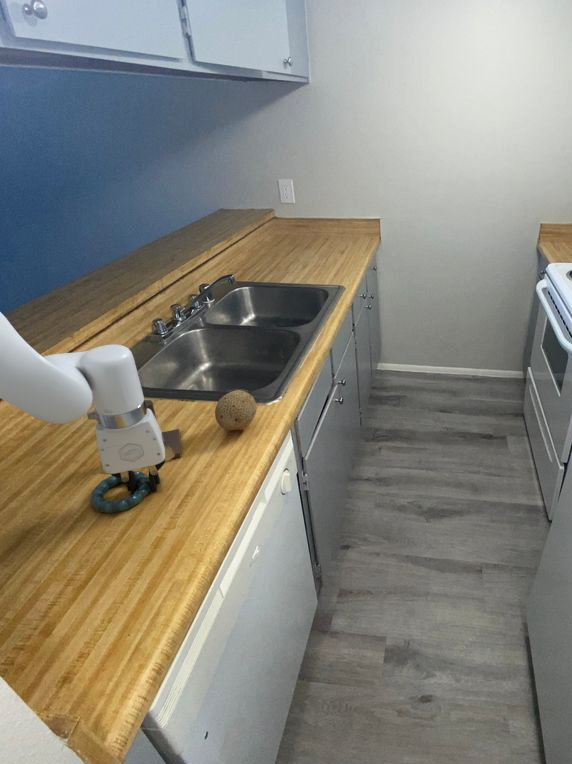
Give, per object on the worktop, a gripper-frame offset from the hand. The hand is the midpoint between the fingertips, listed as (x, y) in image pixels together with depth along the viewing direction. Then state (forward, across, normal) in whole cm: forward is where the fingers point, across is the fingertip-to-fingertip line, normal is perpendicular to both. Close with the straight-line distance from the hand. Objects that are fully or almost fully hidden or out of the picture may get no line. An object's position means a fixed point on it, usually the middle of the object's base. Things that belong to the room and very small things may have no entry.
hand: (145, 488), depth 92 cm
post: (0, +2, +12) cm, 12 cm away
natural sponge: (0, +19, +13) cm, 23 cm away
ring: (-1, -4, 0) cm, 4 cm away
